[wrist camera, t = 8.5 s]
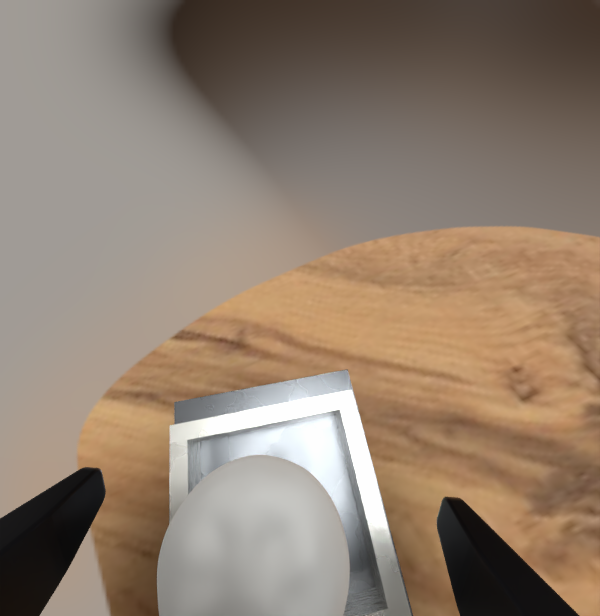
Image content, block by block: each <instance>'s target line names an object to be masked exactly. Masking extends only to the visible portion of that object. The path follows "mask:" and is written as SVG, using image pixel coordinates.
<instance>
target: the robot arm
mask: <svg viewBox="0 0 600 616" xmlns="http://www.w3.org/2000/svg"><path fill="white" fill-rule="evenodd" d="M105 492H106V491H105V485H104V480H103V475H102V471H101V470H100V469H99V468H91V467H85V468H82V469H80V470H78V471H76V472H75V473H73V474H72V475H70V476H68V477H67V478H65V479H63V480H62V481H60V482H59V483H57V484H55V485H54V486H52V487H51V488H49V489H47V490H46V491H44V492H42V493H41V494H39V495H38V496H36V497H34V498H33V499H31V500H30V501H28V502H26V503H25V504H23V505H21V506H20V507H18V508H16V509H15V510H13V511H12V512H10V513H8V514H7V515H5V516H4V517H2V518H0V616H39V615H40V614H41V612H42V611H43V609H44V607H45V606H46V604H47V603H48V601H49V599H50V597H51V596H52V594H53V593H54V591H55V590H56V588H57V586H58V585H59V583H60V581H61V580H62V578H63V576H64V575H65V573H66V571H67V570H68V568H69V566H70V564H71V562H72V561H73V559H74V557H75V555H76V553H77V551H78V549H79V547H80V545H81V543H82V541H83V539H84V537H85V535H86V534H87V532H88V530H89V528H90V526H91V524H92V522H93V520H94V518H95V516H96V514H97V512H98V510H99V508H100V507H101V505H102V503H103V500H104V498H105ZM437 529H438V534H439V538H440V541H441V545H442V549H443V553H444V557H445V561H446V565H447V569H448V573H449V577H450V581H451V585H452V589H453V593H454V596H455V600H456V603H457V607H458V610H459V613H460V616H579V615H578V614H577V613H576V612H575V611H574V610H573V609H572V608H571V607H570V606H569V605H568V604H567V603H566V602H565V601H564V600H563V599H562V598H561V597H560V596H559V595H558V594H557V593H556V592H555V591H554V590H553V589H552V588H551V587H550V586H549V585H548V584H547V583H546V582H545V581H544V580H543V579H542V578H541V577H540V576H539V575H538V574H537V573H536V572H535V571H534V570H533V569H532V568H531V567H530V566H529V565H528V564H527V563H526V562H525V561H524V560H523V559H522V558H521V557H520V556H519V555H518V554H517V553H516V552H515V551H514V550H513V549H512V548H511V547H510V546H509V545H508V544H507V543H506V542H505V541H504V540H503V539H502V538H501V537H500V536H499V535H498V534H497V533H496V532H495V531H494V530H493V529H492V528H491V527H490V526H489V525H488V524H487V523H486V522H484V521H483V520H482V519H481V518H480V517H479V516H478V515H477V514H476V513H475V512H474V511H473V510H472V509H471V508H470V507H469V506H468V505H467V504H466V503H465V502H464V501H463V500H462V499H460V498H455V497H444V498H443V500H442V503H441V506H440V510H439V513H438V517H437Z"/></svg>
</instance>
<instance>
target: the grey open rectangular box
mask: <svg viewBox="0 0 600 616" xmlns="http://www.w3.org/2000/svg"><path fill="white" fill-rule="evenodd" d="M250 455H269V456H275V457H279V458H282V459H285V460H288V461H291V462H293V463H295V464H297V465H299V466H301V467H303V468H304V469H306V470H307V471H309V472H310V473H311V474H312V475H313V476H314V477H315V478H316V479H317V480H318V481H319V482H320V483H321V484H322V486H323V487H324V488H325V490H326V491H327V492H328V494H329V495H330V497H331V499H332V500H333V502H334V504H335V506H336V508H337V511H338V513H339V516H340V519H341V522H342V525H343V529H344V532H345V536H346V541H347V546H348V552H349V561H350V577H349V589H348V596H347V602H346V606H345V611H344V614H343V616H413V614H412V610H411V606H410V602H409V599H408V595H407V591H406V587H405V584H404V580H403V576H402V572H401V569H400V565H399V561H398V557H397V554H396V550H395V546H394V542H393V539H392V535H391V531H390V527H389V524H388V520H387V516H386V512H385V509H384V505H383V501H382V497H381V494H380V490H379V486H378V482H377V479H376V475H375V471H374V467H373V464H372V460H371V456H370V452H369V448H368V445H367V441H366V437H365V433H364V430H363V426H362V422H361V418H360V415H359V411H358V407H357V403H356V400H355V396H354V392H353V388H352V385H351V381H350V377H349V373H348V370H342V371H337V372H332V373H326V374H321V375H316V376H311V377H305V378H300V379H295V380H289V381H284V382H279V383H274V384H268V385H263V386H258V387H252V388H247V389H242V390H237V391H231V392H226V393H221V394H215V395H210V396H205V397H200V398H194V399H189V400H184V401H178V402H175V424H174V425H170V477H169V524H170V522H171V520H172V519H173V517H174V515H175V513H176V512H177V510H178V509H179V507H180V505H181V504H182V503H183V501H184V500H185V498H186V497H187V496H188V494H189V493H190V492H191V491H192V490H193V488H194V487H195V486H196V485H197V484H198V483H199V482H200V481H201V480H202V479H203V478H205V477H206V476H207V475H208V474H210V473H211V472H212V471H214V470H215V469H217V468H218V467H220V466H222V465H224V464H226V463H228V462H230V461H232V460H235V459H238V458H241V457H245V456H250Z"/></svg>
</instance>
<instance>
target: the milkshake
mask: <svg viewBox="0 0 600 616" xmlns="http://www.w3.org/2000/svg"><path fill="white" fill-rule="evenodd" d="M349 577H350V561H349V552H348V546H347V541H346V536H345V532H344V529H343V525H342V522H341V519H340V516H339V513H338V511H337V508H336V506H335V504H334V502H333V500H332V499H331V497H330V495H329V494H328V492H327V491H326V490H325V488H324V487H323V486H322V484H321V483H320V482H319V481H318V480H317V479H316V478H315V477H314V476H313V475H312V474H311V473H310V472H309V471H307V470H306V469H304V468H303V467H301V466H299V465H297V464H295V463H293V462H291V461H288V460H285V459H282V458H279V457H275V456H269V455H250V456H245V457H241V458H238V459H235V460H232V461H230V462H228V463H226V464H224V465H222V466H220V467H218V468H217V469H215V470H214V471H212V472H211V473H210V474H208V475H207V476H206V477H205V478H203V479H202V480H201V481H200V482H199V483H198V484H197V485H196V486H195V487H194V488H193V490H192V491H191V492H190V493H189V494H188V496H187V497H186V498H185V500H184V501H183V503H182V504H181V505H180V507H179V509H178V510H177V512H176V513H175V515H174V517H173V519H172V520H171V522H170V524H169V526H168V528H167V531H166V533H165V536H164V539H163V542H162V546H161V549H160V554H159V559H158V567H157V596H158V610H159V616H343V614H344V611H345V606H346V602H347V596H348V589H349Z"/></svg>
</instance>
